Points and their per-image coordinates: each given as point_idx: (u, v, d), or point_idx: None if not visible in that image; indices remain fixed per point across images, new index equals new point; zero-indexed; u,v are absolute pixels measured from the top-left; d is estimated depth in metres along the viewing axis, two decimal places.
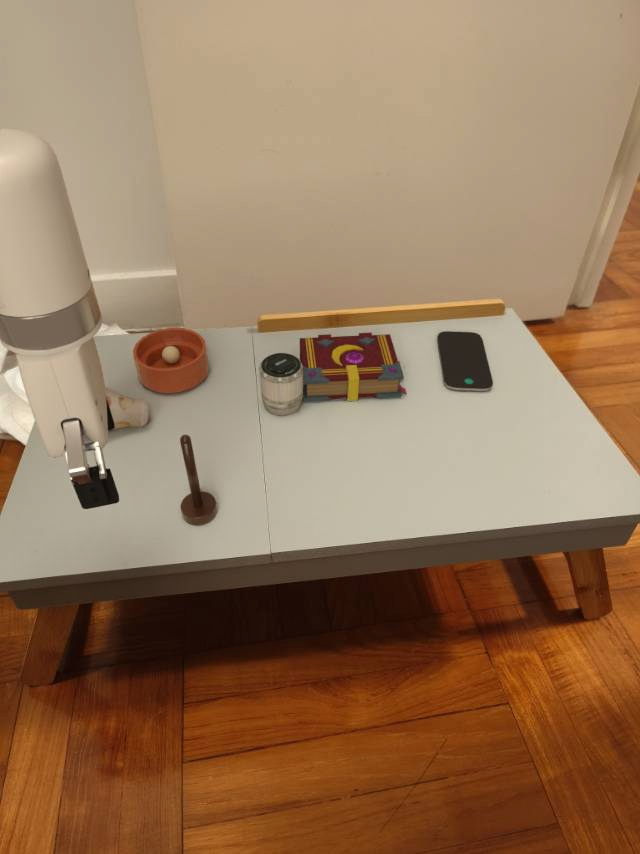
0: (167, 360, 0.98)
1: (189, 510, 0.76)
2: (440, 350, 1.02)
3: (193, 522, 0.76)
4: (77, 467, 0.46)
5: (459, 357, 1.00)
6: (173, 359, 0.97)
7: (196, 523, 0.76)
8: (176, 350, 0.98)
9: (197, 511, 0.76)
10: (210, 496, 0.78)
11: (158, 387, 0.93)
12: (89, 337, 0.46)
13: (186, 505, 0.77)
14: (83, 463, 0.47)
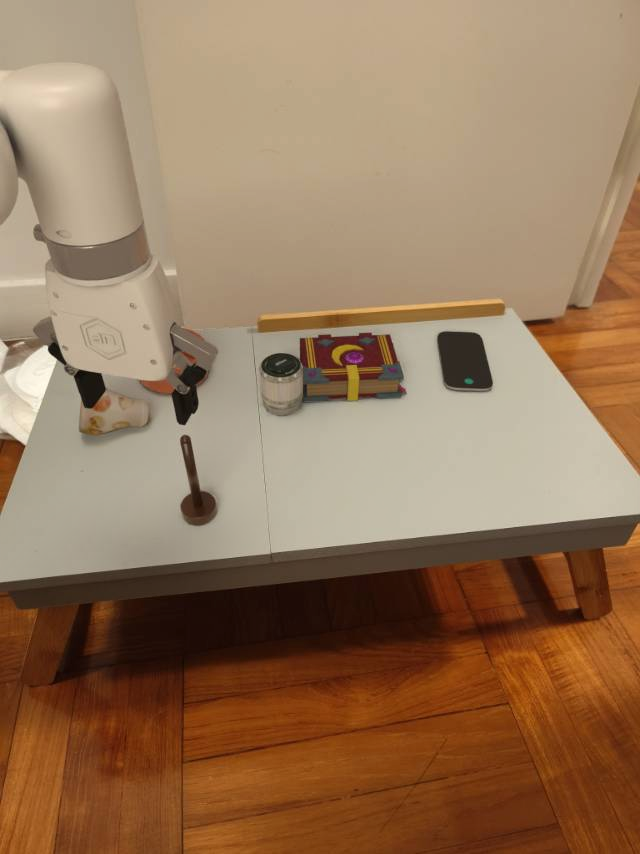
0: None
1: (189, 510, 0.76)
2: (440, 350, 1.02)
3: (193, 522, 0.76)
4: (212, 349, 0.53)
5: (459, 357, 1.00)
6: None
7: (196, 523, 0.76)
8: None
9: (197, 511, 0.76)
10: (210, 496, 0.78)
11: (158, 387, 0.93)
12: None
13: (186, 505, 0.77)
14: (211, 345, 0.53)
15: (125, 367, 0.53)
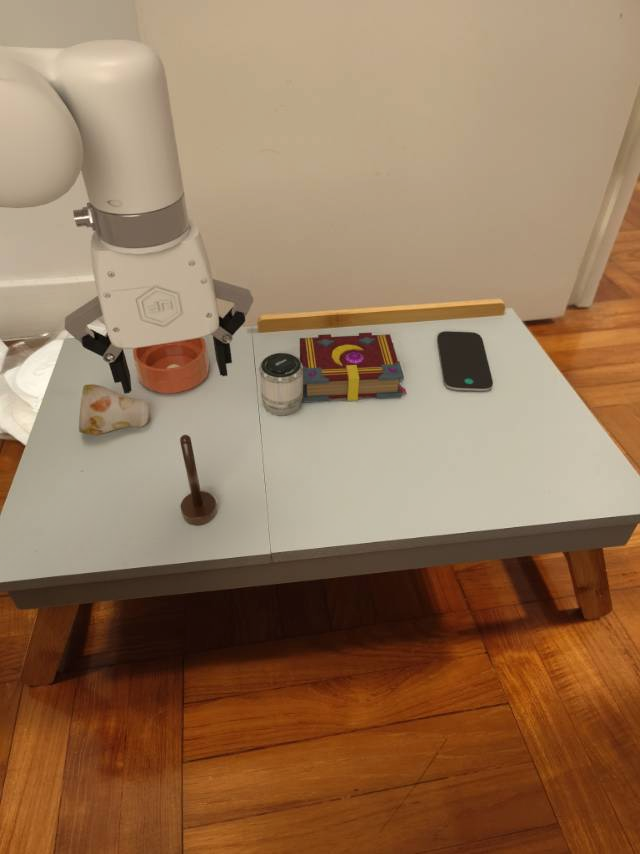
0: None
1: (189, 510, 0.76)
2: (440, 350, 1.02)
3: (193, 522, 0.76)
4: (248, 292, 0.59)
5: (459, 357, 1.00)
6: None
7: (196, 523, 0.76)
8: None
9: (197, 511, 0.76)
10: (210, 496, 0.78)
11: (158, 387, 0.93)
12: None
13: (186, 505, 0.77)
14: (245, 289, 0.59)
15: (181, 330, 0.56)
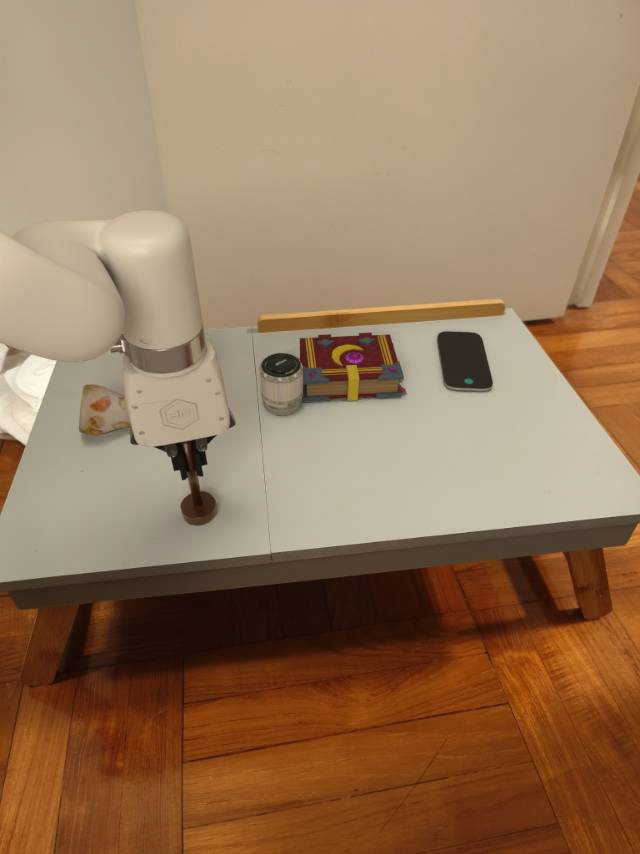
0: None
1: (189, 510, 0.76)
2: (440, 350, 1.02)
3: (193, 522, 0.76)
4: None
5: (459, 357, 1.00)
6: None
7: (196, 523, 0.76)
8: None
9: (197, 511, 0.76)
10: (210, 496, 0.78)
11: None
12: None
13: (186, 505, 0.77)
14: (232, 414, 0.69)
15: (197, 431, 0.65)
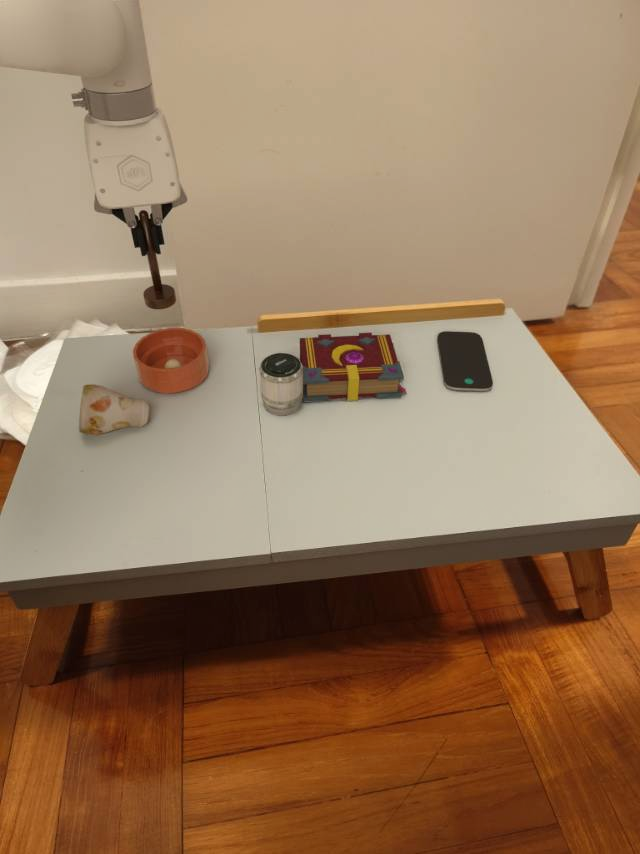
0: None
1: (150, 295, 0.86)
2: (440, 350, 1.02)
3: (154, 305, 0.86)
4: None
5: (459, 357, 1.00)
6: None
7: (157, 306, 0.86)
8: None
9: (158, 296, 0.86)
10: (170, 287, 0.88)
11: (158, 387, 0.93)
12: None
13: (148, 293, 0.87)
14: (184, 192, 0.79)
15: (151, 194, 0.75)
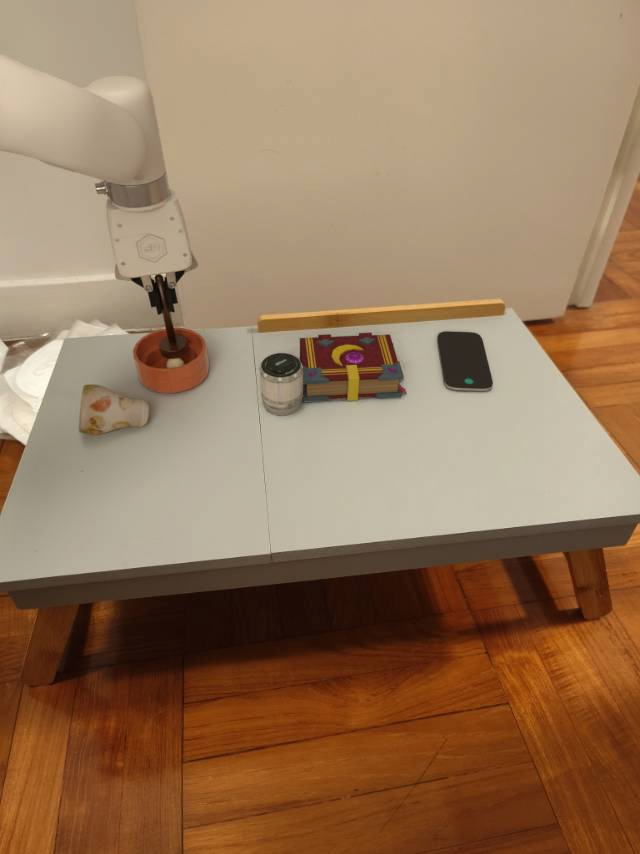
0: None
1: (166, 347, 0.95)
2: (440, 350, 1.02)
3: (170, 356, 0.95)
4: (196, 261, 0.88)
5: (459, 357, 1.00)
6: None
7: (173, 356, 0.95)
8: None
9: (173, 347, 0.95)
10: (182, 337, 0.97)
11: (158, 387, 0.93)
12: None
13: (163, 344, 0.96)
14: (195, 258, 0.88)
15: (166, 265, 0.84)
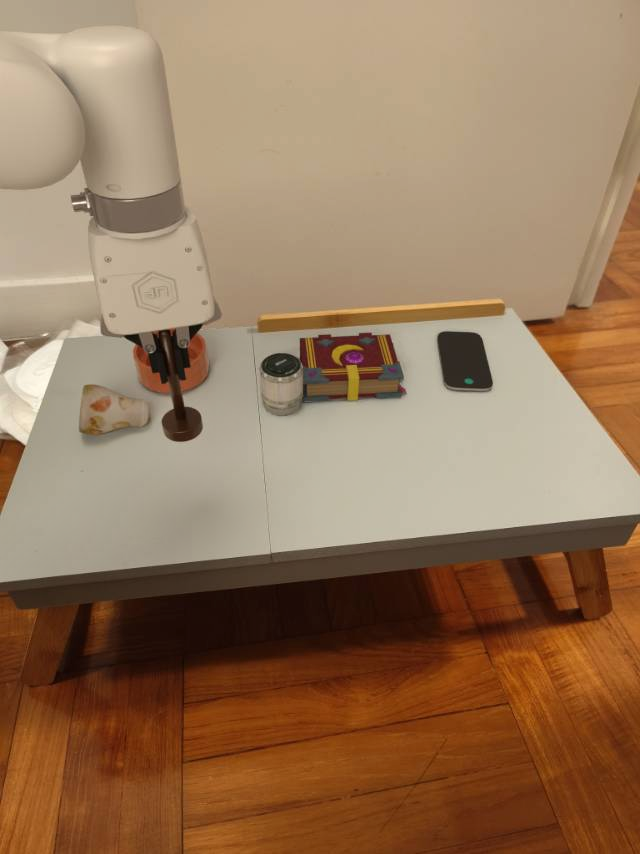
0: None
1: (172, 425, 0.68)
2: (440, 350, 1.02)
3: (177, 438, 0.67)
4: None
5: (459, 357, 1.00)
6: None
7: (181, 438, 0.67)
8: None
9: (181, 426, 0.68)
10: (194, 410, 0.69)
11: (158, 387, 0.93)
12: None
13: (168, 421, 0.68)
14: (218, 305, 0.61)
15: (176, 316, 0.57)
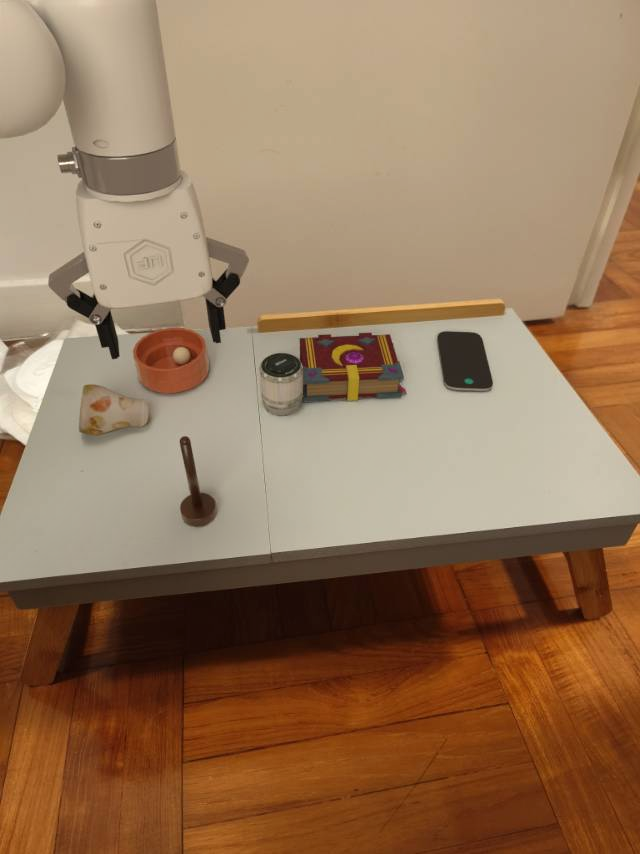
0: (173, 353, 0.97)
1: (189, 512, 0.76)
2: (440, 350, 1.02)
3: (194, 524, 0.76)
4: (244, 252, 0.56)
5: (459, 357, 1.00)
6: (174, 358, 0.97)
7: (198, 524, 0.76)
8: (184, 360, 0.97)
9: (198, 513, 0.76)
10: (209, 497, 0.78)
11: (158, 387, 0.93)
12: None
13: (185, 508, 0.77)
14: (240, 249, 0.56)
15: (172, 289, 0.53)
